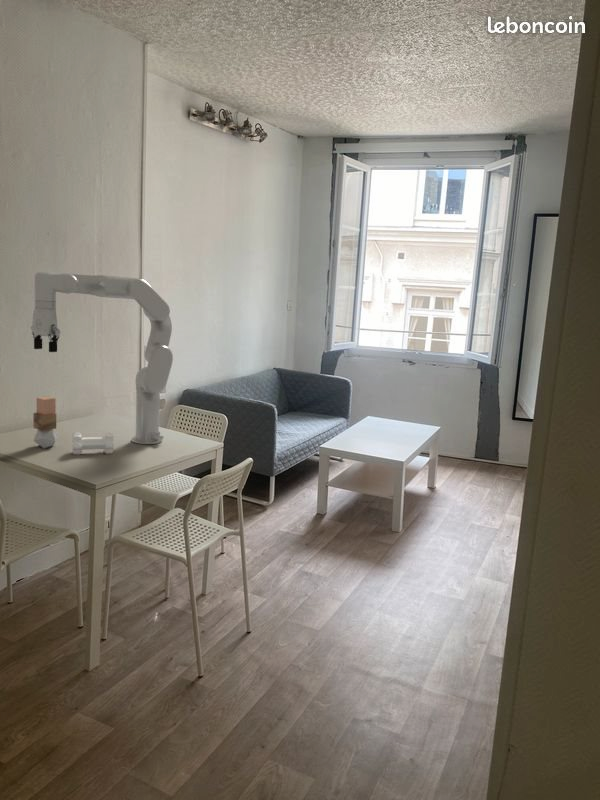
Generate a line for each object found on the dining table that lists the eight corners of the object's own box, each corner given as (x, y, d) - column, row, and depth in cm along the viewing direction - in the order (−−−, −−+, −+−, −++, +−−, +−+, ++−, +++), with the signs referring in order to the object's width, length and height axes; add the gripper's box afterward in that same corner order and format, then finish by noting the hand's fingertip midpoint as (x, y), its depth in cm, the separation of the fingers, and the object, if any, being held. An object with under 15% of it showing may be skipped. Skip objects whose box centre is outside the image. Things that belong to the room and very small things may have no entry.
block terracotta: (55, 413, 246) (55, 398, 245) (43, 414, 242) (43, 399, 241) (48, 411, 249) (48, 396, 248) (36, 412, 245) (36, 397, 244)
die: (60, 449, 247) (63, 427, 251) (43, 443, 240) (46, 420, 244) (44, 454, 250) (47, 431, 254) (27, 447, 243) (31, 424, 247)
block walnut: (56, 428, 247) (56, 413, 246) (42, 430, 242) (42, 415, 241) (47, 425, 250) (47, 411, 249) (33, 427, 245) (33, 412, 244)
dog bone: (112, 449, 251) (112, 430, 249) (113, 455, 243) (114, 435, 241) (72, 450, 245) (72, 430, 244) (72, 457, 237) (72, 436, 236)
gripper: (23, 303, 239) (23, 348, 243) (49, 307, 230) (49, 353, 233) (41, 304, 245) (41, 347, 249) (67, 307, 236) (67, 352, 239)
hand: (45, 350), depth 241 cm, fingers open, 9 cm apart
